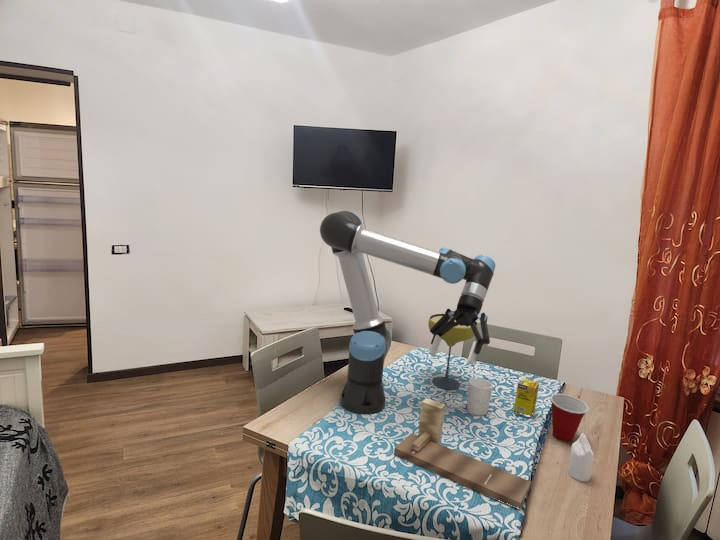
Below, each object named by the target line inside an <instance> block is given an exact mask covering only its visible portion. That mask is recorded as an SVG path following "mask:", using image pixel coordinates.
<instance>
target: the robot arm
mask: <svg viewBox="0 0 720 540" xmlns="http://www.w3.org/2000/svg"><path fill="white" fill-rule="evenodd" d="M319 234H320V237H321V240H322V241H323V242H324V243H325V244H326V245H327V246H329V247H330V248H331V251H332V255H334V256H336V257H338V260H339V265H340V268H341V272H342V275H343V279H344V284H345V288H346V291H347V295H348V298H349V303H350V306H351V310H352V313H353V318H354V320H355V321H354V324H353V325H352V330H353V335H352V336H351V337H350V341H349V344H348V349H349V352H348V364H347V365H348V366H347V379H346V382H345V384H344V386H343V389H342V391H341V393H340V399H339V401H340V405H341V406H342V407H343V408H344V409H346V410H347V411H349V412H353V413H357V414H365V415H369V414H374V413H378V412H381V411H382V410H384V409H385V407H386V396H385V395H386V394H385V391H384V386H383V376H384V375H383V374H384V365H385V364H384V363H385V360H386V357H387V355H388V353H389V350H390V349H391V345H392V335H391V332H390V330H389V328H388V327H387V326H386V321H385V318H383V317H382V316H380V315H379V311H378V309H377V303H376V300H375V297H374V296H375V295H374V292H373V289H372V284H371V280H370V277H369V273H368V269H367V265H366V261H365V257H364V254H365V255H369V256H372V257H374V258H377V259H381V260H384V261H387V262H390V263H393V264H396V265H399V266H403V267H405V268H409V269H412V270H415V271H418V272H421V273H425V274H428V275H431V276H434V277H437V278H439V279H441V280H443V281H444V282H445V283H447V284H451V285H452V284H457V283H459V282H461V281H462V280H464V281H465V283H464V285H463V288H462V290H461V294H460V297H459V299H458V302H457V305H456V309H455V310H451V309H450V308H447V309H445V313H443V314H444V315H443V316H442V317H441V318H440V319H439V321H438V322H437V323H436V324H435V325H434V326H433V327H432V328H431V329H429V332H430V333H431V334H432V335H433V336H432V339H431V342H430V345H431V347H430V349H429V352H428V354H429V355H430V356H432V357H434V358H435V357H436V356H437V355H436V354H437V352H438V351H439V350H438V349H439V347H440V345H441V341H442V339H441V338H440V337H441V336H442V335H444V334H445V333H446V332H448V331H449V330H450V329H452V328H453V327H455V326H458V325H460V326H467V327H468V326H471V329H472V331H473V333H474V335H475V336H474V338H475V339H476V341H475V340H473V342H472V345H471V348H470V352H469V355H468V357H467V359H466V360H467V362H468V363H469V364H470V365H471V366H473V365H474V364H475V361H476V358H477V355H479V354H480V353H481V350H482V347H483V346H484V345H489V344H490V343H491V340H490V334H489V328H488V324H487V322H488V320H489V319H488V316H487V315H486V313H485V312H482V313H481V310H482V308H483V303H484V301H485V298H486V297H487V293H488V290H489V287H490V284H491V282H492V279H493V277H494V273H495V269H496V263H495V260H493V259H492V258H491V257H489V256H487V255H483V254H480V255H476V256H474V258H471V257H469V256H466V255H464V254H461V253H458V251H454V250H452V249H450V248H446V247H443V246H442V247H441V248H439V251H437V250H434V249H430V248H428V247H424V246H421V245H418V244H414V243H411V242H409V241H405V240H403V239H402V240H401V239H398V238H395V237H392V236H389V235H386V234H384V233H380V232H376V231H374V230H373V231H372V230H370V229H367V228H365V227H364V226H363V222H362V220H361V218H360V217H359V215H357V214H356V213H355V212H351V211H348V210H342V211H341V210H340V211H337V212H331V213H329V214H328V215H326V216H325V217H324V218H323V220H322V221H321V223H320V226H319ZM453 315H454V316H453ZM451 317H452V318H451ZM478 319H479V322H480V329H481V334H480V331H479V328H478V329H477V327H476V324H475V321H476V322H477V321H478ZM449 320H450V321H449ZM455 320H456V322H454V321H455Z"/></svg>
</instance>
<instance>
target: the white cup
mask: <svg viewBox="0 0 720 540" xmlns="http://www.w3.org/2000/svg"><path fill="white" fill-rule="evenodd" d="M467 387H468V388H467V400H466V401H467V405H466V408H467V411H468V412H469V413H470V414H472V415H475V416H486V415H487V414H488V411H489V407H490V403H491V399H492V393H493V389H494V385H493V383H492V382H491V381H489V380H487V379H483V378H479V377H477V378H476V377H474V378H470V379H469V380H468V384H467Z"/></svg>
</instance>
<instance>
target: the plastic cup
mask: <svg viewBox="0 0 720 540" xmlns="http://www.w3.org/2000/svg"><path fill="white" fill-rule="evenodd" d="M550 401H551V423H552V424H551V425H552V435H553V437H554V439H557V440H559V441H561V442H565V443H571V442H572V441H573V440H574V438H575V436H576V433H578V432H577V431H578V429H579V427H580V425H581V422H582V420H583V418H584V416H585V414H587V413H588V412H589V406H588V404H587V403H585V401H583V400H582V399H579V398H577V397H575V396H573V395H569V394H565V393H554V394H552V395H550Z"/></svg>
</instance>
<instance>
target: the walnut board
mask: <svg viewBox="0 0 720 540" xmlns="http://www.w3.org/2000/svg"><path fill="white" fill-rule="evenodd" d="M419 437H420V436H418V434H415V433H412V432H411V433H410V434H409V435H408V436H407V437H405V438H404V439H403V440H402V441H401V442H399V444H397V445H396V446H395V447H394V448H393V449H394V452H393V455H394V456H397V457H399V458H401V459H403V460H405V461H407V462H410V463H412V464H414V465H417V466H419V467H420V468H423V469H426V470H428V471H429V472H432V473H435V474H436V475H439V476H440V477H443V478H446V479H447V480H450V481H453V482H455V483H458V484H459V485H461V486H463V487H466V488H468V489H471V491H472V490H473V491H474V492H476V493H477V492H478V493H479V494H482V495H484V496H486V495H487V496H486V497H488V496H490V497H493V498H495V499H497V500H500V501H502V502H504V503H508V504H510V505H512V506H515V507H518V508H519V509H520V510H521V508H522V506H523V504H524V502H525V500H524V498H525V496H526V495H527V496H528V493H529V492H530V489H531V485H532V481H531V480H528V479H526V478H523V477H521V476H518V475H515V474H514V473H511V472H508V471H506V470H504V469H501V468H499V467H496V466H494V465H491V464H489V463H486V462H484V461H482V460H480V459H476V458H474V457H472V456H470V455H469V456H468V455H466V454H464V453H461V452H459V451H457V450H454V449H452V448H449V447H447V446H445V445H442V444H441V443H440V444H437V443H435V442H432V441H430V440H429V441H428V442H427V443H426V444H425V445H424V446H423V447H422V448H421V449H420V450H419V451H415V450H413V449H412V443H414V442H415V441H416V440H417V439H418V438H419ZM527 496H526V497H527ZM490 497H489V498H490ZM493 498H492V499H493ZM495 499H494V500H495ZM525 499H526V498H525ZM497 500H496V501H497ZM523 501H524V502H523ZM502 502H501V503H502ZM504 503H503V504H504ZM522 503H523V504H522ZM521 505H522V506H521ZM520 507H521V508H520Z"/></svg>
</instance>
